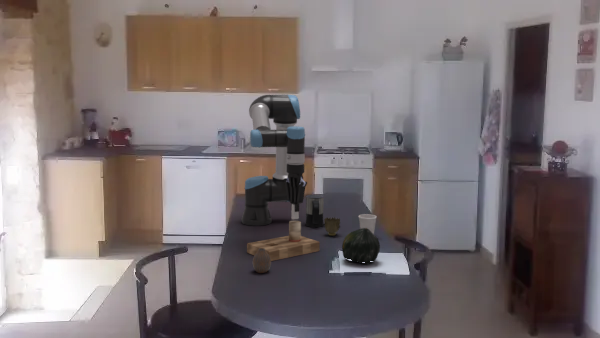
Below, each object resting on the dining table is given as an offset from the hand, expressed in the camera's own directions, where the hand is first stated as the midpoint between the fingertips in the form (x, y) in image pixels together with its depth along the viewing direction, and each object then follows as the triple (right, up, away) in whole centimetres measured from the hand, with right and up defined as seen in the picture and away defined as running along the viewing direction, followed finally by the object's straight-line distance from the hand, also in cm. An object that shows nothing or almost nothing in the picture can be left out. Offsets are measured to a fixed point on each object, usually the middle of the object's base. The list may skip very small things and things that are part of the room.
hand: (295, 218), depth 265 cm
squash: (+26, -16, -15) cm, 34 cm away
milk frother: (+13, -7, +47) cm, 49 cm away
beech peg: (0, -13, +2) cm, 13 cm away
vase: (-12, -18, -29) cm, 36 cm away
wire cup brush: (+17, -10, +27) cm, 33 cm away
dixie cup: (+33, -11, +24) cm, 42 cm away
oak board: (-5, -14, -2) cm, 15 cm away
